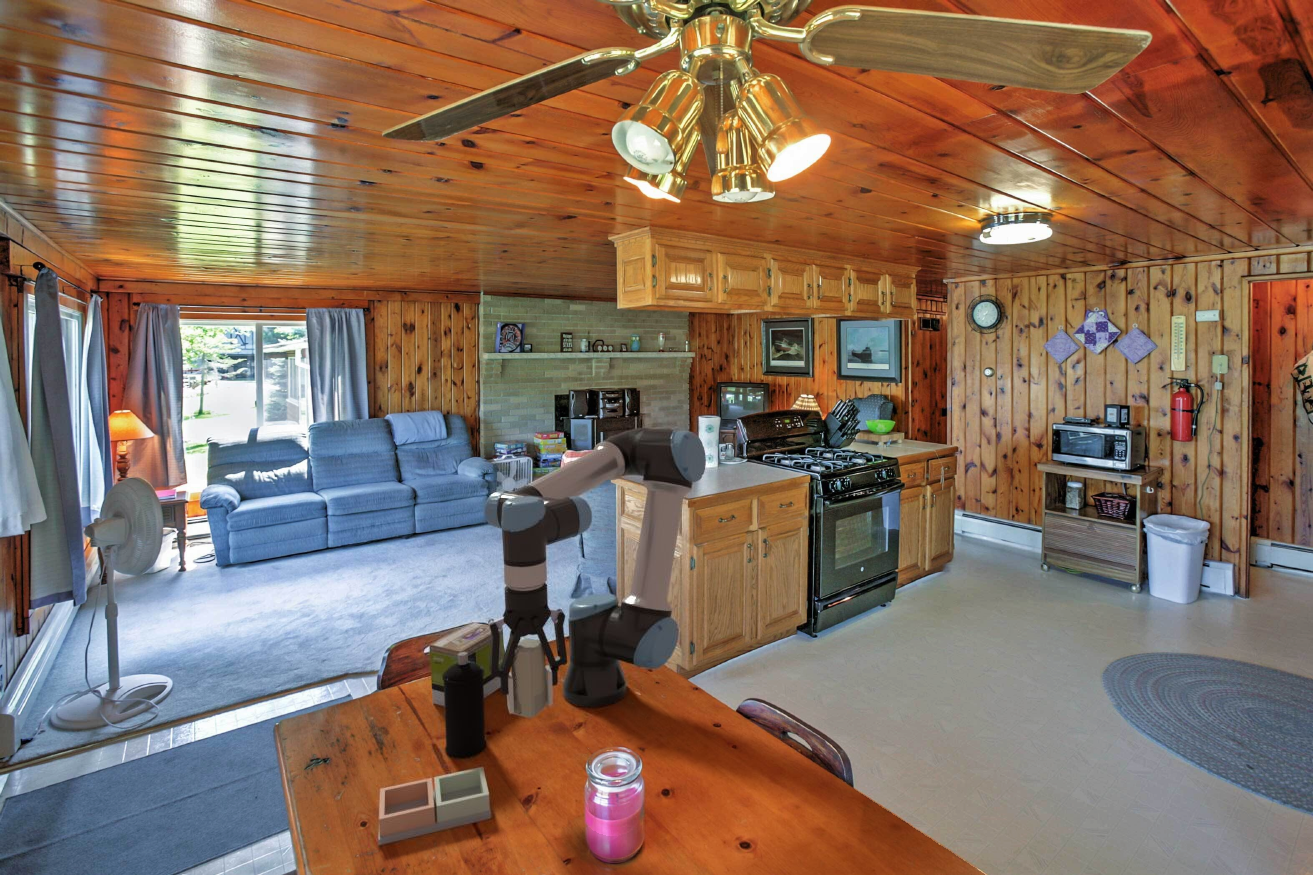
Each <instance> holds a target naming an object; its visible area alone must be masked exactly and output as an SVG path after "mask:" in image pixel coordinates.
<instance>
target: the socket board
mask: <svg viewBox="0 0 1313 875" xmlns="http://www.w3.org/2000/svg"><path fill="white" fill-rule="evenodd" d="M485 773H486V772H485V770H484V766H479V767H476V768H471V769H467V770H466V769H465V770H462V771H457V772H453V773H452V772H451V773H448V774H443V775H439V776H434V777H433V778H432V777H429V778H428V777H427V778H424V779H419V780H415V781H410V782H406V783H401V784H396V785H392V786H386V787H383V788H380V789H379V805H378V806H379V807H378V808H379V810H378V811H379V812H378V836H377V837H378V838H377V839H378V846H381V845H382V846H383V845H386V844H390V843H395V842H398V841H399V842H400V841H403V840H407V839H411V838H415V837H419V836H423V835H427V834H431V833H436V832H440V831H445V830H449V829H452V828H457V827H461V826H465V825H470V824H473V823H477V822H481V821H485V820H489V819H492V809H491V806H490V792H489V788H488V783H487V780H486V779H487V778H486V774H485ZM433 781H434V782H433ZM433 783H434V785H433ZM433 786H434V788H433Z"/></svg>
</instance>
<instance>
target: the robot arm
mask: <svg viewBox="0 0 1313 875" xmlns="http://www.w3.org/2000/svg"><path fill="white" fill-rule="evenodd" d="M592 449H593V450H592V451H590V452H588V453H587V454H585V455H583V456H580V457H579V458H577V459H575V460H573V461H571V462H568V463H566V464H565V465H562V466H561V467H559V468H557V469H555V470H553V471H551V472H550V473H547V474H545V475H543V476H541V477H540V478H537V479H536V480H533V481H532V482H529V483H527V484H526V485H524V486H522V487H520V488H517V489H516V490H513V491H508V490H501V491H494V492H493V493H492V494H490V495H489V497H488V498H487V499H486V500H485V503H484V508H483V512H484V518H485V520H486V522H487V523H488V525H490V526H491V527H494V528H497V529H501V535H502V537H501V538H502V539H501V540H502V553H503V554H502V555H503V578H504V580H503V581H504V585H505V587H504V607H505V608H504V612H503V614H502V616H501V617H499V618H497V619H494V618H490V619H489V620H488V624H487V625H489V627H490V630H491V647H490V668H489V669H490V673H491V676H492V677H500V681H501V687H500V691H501V694H502V696H506V699H507V700H506V702H507V708H508V712H509V714H510V715H511V714H513V713H514V698H513V678H512V671H511V670H512V667H511V666H512V662H513V659H514V656H515V650H516V649H517V646H518V643H519V642H520V641H521V638H523V637H524V638H525V637H527V636H528V635H529V636H534V635H535V636H536V635H537V638H538V640H540V642H541V644H542V647H543V649H544V652H545V658H546V660H547V663H548V665H546V688H547V706H549V707H551V706H553V705H554V696H553V695H554V690H553V686H557V685H558V684H559V682H558V681H559V678H558V671H559V670H560V668H559V667H561V666H566V665H567V663H568V655H567V654H568V653H567V648H566V639H565V638H566V637H565V630H564V623H565V619H566V614H565V613H564V611H563V609H561V608H558V609H556V610H555V609H551V608H550V607H549V604H548V602H549V597H548V585H547V583H546V582H548V581H547V580H548V575H547V574H548V570H547V546H549V545H550V546H551V545H552V544H555V543H558V542H562V541H564V540H567V539H568V540H569V539H571V538H576V537H577V536H579V535H580V534H581V535H582V534H583V533H585V532H587V531H588V529H589V528H590V527H591V525H592V522H593V519H592V518H593V513H592V508H591V506H590V504H589V502H587V500H586V499H585V498H583V497H581V495H583V494H585V493H588V492H589V491H591V490H592V489H594V488H596V487H597V486H600V485H601V484H603V483H604V482H607V481H608V480H609V481H615V480H618V479H620V478H622V477H626V476H641V477H642V485H644V487H645V488H646V491H647V492H646V498H645V503H644V504H645V505H644V510H643V517H642V521H641V525H640V533H639V538H638V544H637V550H636V555H635V556H636V557H635V562H634V568H633V572H632V579H631V585H630V591H629V594H628V595H627V596H625V597H624V598H622V599H621V603H620V605H619V602H620V600H619V598H618V597H617V595H615V594H613V593H612V594H611V593H594V594H589V595H585V596H582V597H579V598H577V599H575V600H573V601H572V602H571V604H570V605H569V607H568V611H569V612H568V619H567V620H568V621H567V622H568V642H569V643H568V644H569V646H568V647H569V663H568V666H567V669H566V673H565V676H564V680H563V682H562V694H563V698H564V699H565V701H567V702H568V703H570V704H572V705H574V706H578V707H584V708H585V707H586V708H600V707H604V706H610V705H612V704H614V703H617V702H618V701H620V700H622V699H623V697H625V695H626V694H627V680H626V677H625V673H624V671H623V668H622V665H621V662H624V663H627V664H631V665H634V666H635V667H638V668H643V669H644V668H645V669H648V670H657V669H659V668H661V667H663V666H664V665H665V664H667V663H668V661H669V660H670V658H671V657H672V656H673V654H674V651H675V649H676V646H677V643H678V640H679V636H680V634H679V633H680V632H679V631H680V630H679V624H678V623H677V621H676V620H675V619H674V618H672V611H673V607H672V606H671V605H670V603H669V602H668V596H669V588H670V582H671V577H672V571H673V565H674V558H675V552H676V546H677V540H678V534H679V530H680V529H679V528H680V522H681V516H682V509H683V503H684V498H685V496H686V495H688V494H689V493H690V492H692V489H693V484H694V483H696V482H699V481H700V480H701V479H702V478H703V475H704V474H705V471H706V467H707V466H706V465H707V464H706V463H707V457H706V456H707V455H706V451H705V446H704V445H703V442H702V440H701V437H699V435H697V434H696V433H694V432H692V431H689V430H682V429H678V428H677V429H668V428H667V429H666V428H664V429H663V428H648V427H647V428H645V427H638V428H634V429H629V430H626V431H623V432H620V433H618V434H616V435H614V436H611V437H609V438H606V439H605V440H603V441H600V442H598V443H597V444H596V445H595V446H594V447H593V448H592ZM549 619H551V621H552V623H553V627H554V634H555V635H554V636H555V644H556V651H557V656H555V655H554V652H553V650H552V647H551V644H550V643H549V641H548V638H547V636H546V632H545V630H544V627H545V625H546V624H547V622H548V621H549ZM504 625H506V626H507V627H508V628H509V630H510V632H509V638H508V641H507V645H506V648H505V650H504V658H503V661H502V664H501V667H498V666H499V646H500V634H499V632H500V631H502V628H503V627H504Z"/></svg>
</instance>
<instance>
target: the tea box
mask: <svg viewBox="0 0 1313 875" xmlns="http://www.w3.org/2000/svg"><path fill="white" fill-rule="evenodd" d="M499 634H500V646H499V666H498V667H501V664H502V661H503V658H504V654H505V645H504V644H505V642H504V628H503V627H502V631H500V632H499ZM428 646H429V661H430V663H429V664H430V665H429V666H430V676H431V678H430V680H431V696H432V697H431V698H432V703H433V704H435V705H439V706H442V707H444V708H445V701H444V681H443V679H442V675H443V674H444V672H445V671H446V670H447V669H448V668H449V667H450V666H452V665H454V664H456V663H458V653H460V652H467V653H468V661H469V662H474V663H476V664H478V665H479V666H480V667H482V668H483V669H484V675H483V687H484V699H485V698H487V697H488V696H490V695H491V694H493V693H494V692H496V691H497V690H498V689H501V681H500V677H492V676H491V673H490V669H489V668H490V647H491V630H490V627H489V624H483V623H477V622H473V621H472V622H470V623H468V624H466V625H464V626H462V627H460V628H459V629H456V630H455V631H453V632H450V633H449V634H447V635H445V636H443V637H440V638H439V639H438V640H436V641H434V642H431V643H429V645H428Z"/></svg>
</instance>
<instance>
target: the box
mask: <svg viewBox="0 0 1313 875" xmlns="http://www.w3.org/2000/svg"><path fill="white" fill-rule="evenodd" d="M546 664H547V663H546V655H545V652H544V649H543V647H542V644H541V642H540V640H539V639H535V638H528V637H524V638H523V639H521V640H520V642H519V643H518V646H517V649H516V650H515V656H514V659H513V662H512V666H511V675H512V678H513V698H514V713H512V714H513V715H515V716H516V715H517V716H520V717H524V718H527V719H529V718H530V719H534V718H536V717H537V716H538V714H540V713H541V712H542V711H543V710H545V708H546V707H547V706H548V703H547V688H546V666H547V665H546Z"/></svg>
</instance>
